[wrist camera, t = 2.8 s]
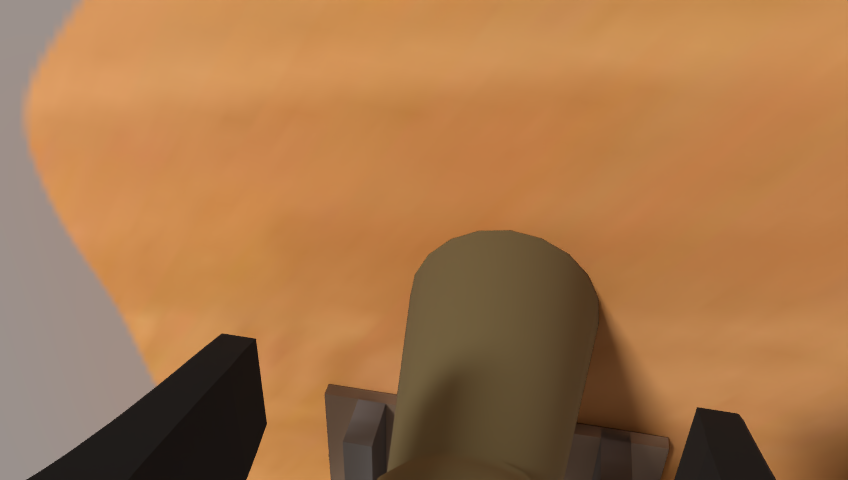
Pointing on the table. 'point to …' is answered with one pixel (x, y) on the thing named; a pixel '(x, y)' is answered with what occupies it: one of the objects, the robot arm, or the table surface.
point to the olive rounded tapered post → (493, 361)
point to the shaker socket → (373, 424)
